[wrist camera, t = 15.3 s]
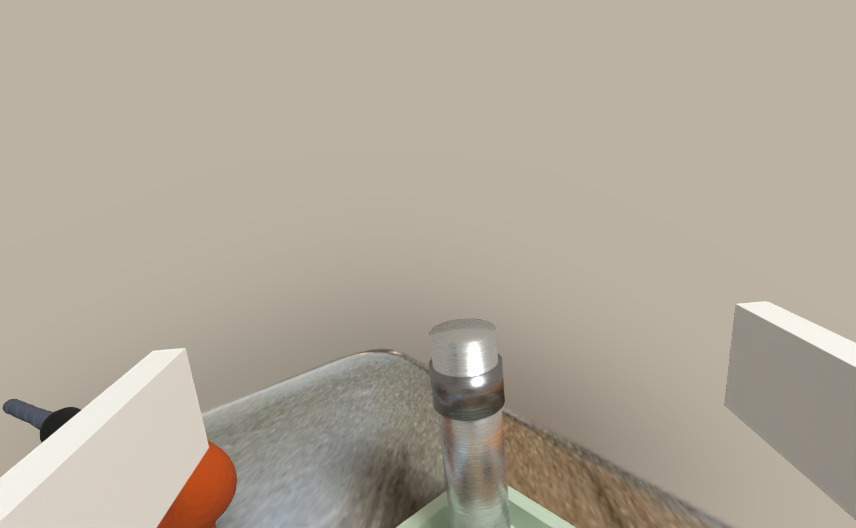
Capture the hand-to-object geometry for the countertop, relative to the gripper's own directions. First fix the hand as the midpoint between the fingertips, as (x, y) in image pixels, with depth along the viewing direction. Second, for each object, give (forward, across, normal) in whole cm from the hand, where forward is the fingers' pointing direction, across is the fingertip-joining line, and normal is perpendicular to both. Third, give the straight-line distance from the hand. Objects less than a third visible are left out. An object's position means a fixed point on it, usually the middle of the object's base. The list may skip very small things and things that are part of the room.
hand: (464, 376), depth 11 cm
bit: (+12, +2, -21) cm, 24 cm away
